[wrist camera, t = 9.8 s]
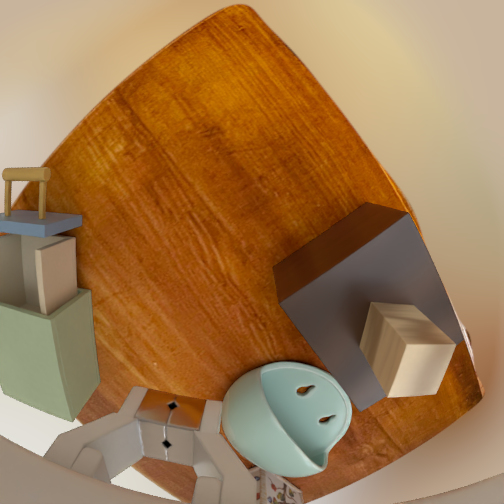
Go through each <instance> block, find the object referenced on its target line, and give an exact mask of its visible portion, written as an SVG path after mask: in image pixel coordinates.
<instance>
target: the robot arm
mask: <svg viewBox="0 0 504 504" xmlns="http://www.w3.org/2000/svg"><path fill="white" fill-rule="evenodd" d="M221 412H222V401H216V400H208V399H207V400H205V399H199V398H193V397H187V396H181V395H176V394H171V393H167V392H162V391H158V390H153V389H148V388H144V387H140V386H134V387H133V388H132V389H131V391H130V393H129V395H128V396H127V398H126V400H125V402H124V403H123V405H122V407H121V408H120V410H119V412H118V413H114V412H113V413H111V414H109V415H106V416H104V417H102V418H99V419H97V420H95V421H92V422H90V423H87V424H85V425H82V426H80V427H77V428H75V429H73V430H70V431H67V432H65V433H62V434H60V435H58V437H57V438H56V440H55V441H54V443H53V444H52V445H51V447H50V448H49V450H48V451H47V452H46V454H45V455H44V456H43V457H42V456H39V455H37V454H35V453H33V452H31V451H29V450H27V449H25V448H23V447H22V446H19V445H18V444H16V443H14V442H12V441H10V440H8V439H6V438H5V437H3V436H1V435H0V504H256V496H257V481H256V480H255V478H254V477H253V476H252V475H251V473H250V472H249V471H248V469H247V468H246V467H245V466H244V464H243V463H242V462H241V460H240V459H239V458H238V456H237V455H236V454H235V452H234V451H233V450H232V448H231V447H230V446H229V444H228V443H227V441H226V440H225V439H224V437H223V436H222V435H221V434H219V431H220V421H221ZM143 456H145V457H150V458H154V459H159V460H164V461H169V462H174V463H178V464H183V465H188V466H193V468H194V470H195V472H196V474H197V476H198V478H197V480H196V485H195V489H194V494H193V498H192V503H186V502H180V501H175V500H170V499H165V498H161V497H157V496H153V495H149V494H145V493H141V492H137V491H133V490H130V489H126V488H123V487H120V486H116V485H113V484H111V481H110V480H111V479H112V478H114V477H115V476H116V475H118V474H120V473H121V472H123V471H124V470H125V469H127V468H128V467H130V466H131V465H133V464H134V463H136V462H137V461H138V460H140V459H141V458H143ZM396 504H504V473H502V474H499V475H496V476H493V477H490V478H488V479H485V480H483V481H479V482H477V483H474V484H471V485H468V486H465V487H461V488H458V489H455V490H451V491H448V492H444V493H441V494H437V495H433V496H429V497H425V498H420V499H416V500H411V501H406V502H401V503H396Z"/></svg>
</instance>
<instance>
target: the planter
mask: <svg viewBox="0 0 504 504" xmlns="http://www.w3.org/2000/svg"><path fill="white" fill-rule="evenodd" d="M310 385H313V386H312V387H310V388H309V389H308V390H307V391H306V392H305V393H298V392H297V389H298V388H300V387H308V386H310ZM331 415H333V416H331ZM329 416H331V417H330V418H329V419H328V421H326V422H320V421H319V420H320V419H321V418H322V417H329ZM351 416H352V407H351V402H350V399H349V397H348V395H347V394H346V393H345V392H344V390H343V389H342V388H341V386H340V385H339V384H338V382H337V381H336V380H335V378H334V377H333V376H332V375H331V374H330V373H328V372H326V371H324V370H322V369H320V368H317V367H314V366H311V365H307V364H303V363H297V362H286V361H282V362H275V363H271V364H267V365H265V366H262V367H259V368H256V369H254V370H251V371H249V372H247V373H245V374H244V375H242V376H241V377H240V378H238V379H237V380H236V381H235V382H234V383H233V384H232V385H231V387H230V388H229V390H228V391H227V393H226V395H225V397H224V400H223V403H222V412H221V421H222V427H223V430H224V433H225V435H226V437H227V439H228V440H229V442H230V443H231V444H232V446H233V447H234V448H235V449H236V450H237V451H238V452H239V453H240V454H241V455H242V456H243V457H245V458H246V459H247V460H249V461H250V462H252V463H253V464H255V465H256V466H258V467H260V468H261V469H263V470H265V471H268V472H270V473H273V474H276V475H280V476H285V477H305V476H310V475H314V474H317V473H319V472H321V471H323V470H324V469H325V468H326V467H327V463H328V453H329V451H330V450H331V448H332V447H333V446H334V445H335V444H336V443H337V442H338V441H339V440H340V439H341V438H342V436H343V435H344V434H345V432H346V431H347V429H348V427H349V424H350V421H351Z"/></svg>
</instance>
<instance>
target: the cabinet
mask: <svg viewBox="0 0 504 504" xmlns="http://www.w3.org/2000/svg"><path fill="white" fill-rule="evenodd" d="M77 292H78V295H77V296H75V297H74V298H73V299H71V300H70V301H68V302H67V303H66V304H64V305H63V306H62V307H60V308H59V309H57V310H56V311H55V312H53V313H52V314H51V315H49V316H47V315H43V314H40V313H36V312H33V311H29V310H26V309H22V308H19V307H15V306H12V305H9V304H6V303H2V302H0V385H1V388H2V391H3V393H4V394H5V395H8V396H10V397H12V398H14V399H16V400H18V401H20V402H23V403H25V404H27V405H29V406H32V407H34V408H36V409H39V410H41V411H44V412H46V413H48V414H51V415H54V416H56V417H59V418H62V419H64V420H67V421H70V422H73V421H74V420H75V418H76V417H77V415H78V414H79V412H80V411H81V409H82V408H83V406H84V405H85V403H86V402H87V401H88V399H89V398H90V396H91V395H92V393H93V392H94V391H95V389H96V388H97V386H98V385H99V384H100V382H101V381H100V374H99V367H98V360H97V352H96V344H95V335H94V324H93V312H92V298H91V290H88V289H83V288H78V287H77Z"/></svg>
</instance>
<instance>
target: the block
mask: <svg viewBox="0 0 504 504" xmlns="http://www.w3.org/2000/svg"><path fill="white" fill-rule="evenodd" d="M455 346H456V344H455V343H454V342H453V341H452V340H451V339H450V338H449V337H448V336H447V335H446V334H445V333H444V332H443V331H442V330H440V329H439V328H438V327H437V326H436V325H435V324H434V323H433V322H432V321H431V320H429V319H428V318H427V317H426V316H425V315H424V314H423V313H422V312H421V311H419V310H418V309H417V308H416V307H415V306H414V305H405V304H391V303H377V302H371V304H370V308H369V312H368V316H367V320H366V324H365V328H364V331H363V335H362V339H361V342H360V346H359V347H360V349H361V351H362V352H363V354H364V356H365V358H366V360H367V361H368V363H369V365H370V367H371V369H372V370H373V372H374V374H375V376H376V378H377V379H378V381H379V383H380V385H381V387H382V389H383V390H384V392H385V394H386V396H387V397H388V398H389V397H407V396H420V395H432V394H436V392H437V390H438V388H439V386H440V383H441V381H442V379H443V376H444V374H445V372H446V369H447V367H448V364H449V362H450V359H451V357H452V354H453V351H454V349H455Z"/></svg>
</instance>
